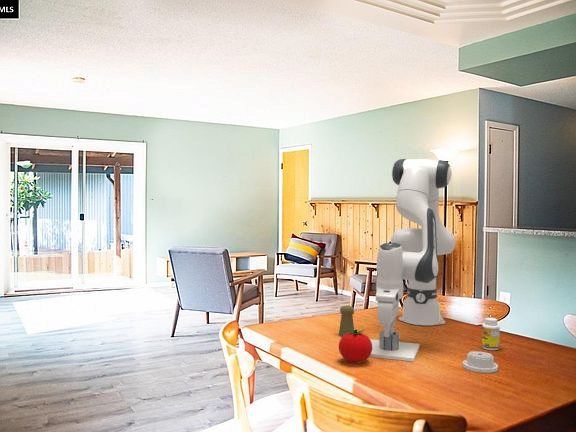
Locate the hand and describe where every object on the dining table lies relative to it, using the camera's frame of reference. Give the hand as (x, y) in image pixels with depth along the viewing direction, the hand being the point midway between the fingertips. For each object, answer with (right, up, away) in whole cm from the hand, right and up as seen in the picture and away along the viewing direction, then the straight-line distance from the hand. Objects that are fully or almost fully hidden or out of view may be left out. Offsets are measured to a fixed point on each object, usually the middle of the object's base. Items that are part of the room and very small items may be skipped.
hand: (389, 332), depth 177 cm
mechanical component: (+24, -7, -17) cm, 31 cm away
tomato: (-13, -6, -13) cm, 19 cm away
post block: (0, -6, 0) cm, 6 cm away
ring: (0, -5, 0) cm, 5 cm away
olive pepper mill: (-12, -6, +20) cm, 24 cm away
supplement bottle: (+36, -6, +4) cm, 36 cm away
